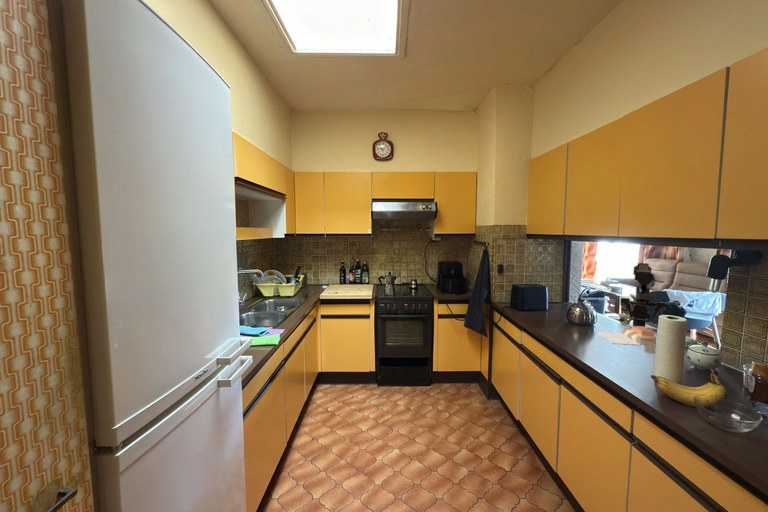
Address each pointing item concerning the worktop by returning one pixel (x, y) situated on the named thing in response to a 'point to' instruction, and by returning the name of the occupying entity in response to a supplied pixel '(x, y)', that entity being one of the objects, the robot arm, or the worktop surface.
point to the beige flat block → (647, 346)
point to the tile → (642, 331)
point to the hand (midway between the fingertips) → (641, 318)
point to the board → (634, 336)
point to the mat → (618, 338)
